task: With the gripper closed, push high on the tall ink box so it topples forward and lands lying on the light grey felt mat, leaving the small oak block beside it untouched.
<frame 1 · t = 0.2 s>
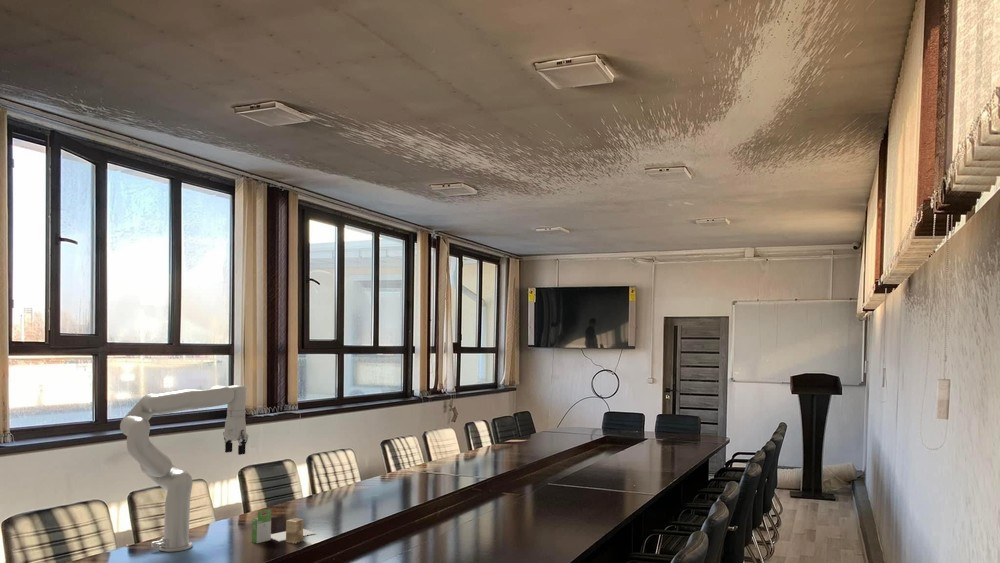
hand: (235, 453, 327), 36 cm above the table, tool pointing down, fingers open, 9 cm apart
ink box: (261, 541, 319), on the table
felt mat: (290, 535, 329), on the table
oak block: (294, 541, 319), on the table
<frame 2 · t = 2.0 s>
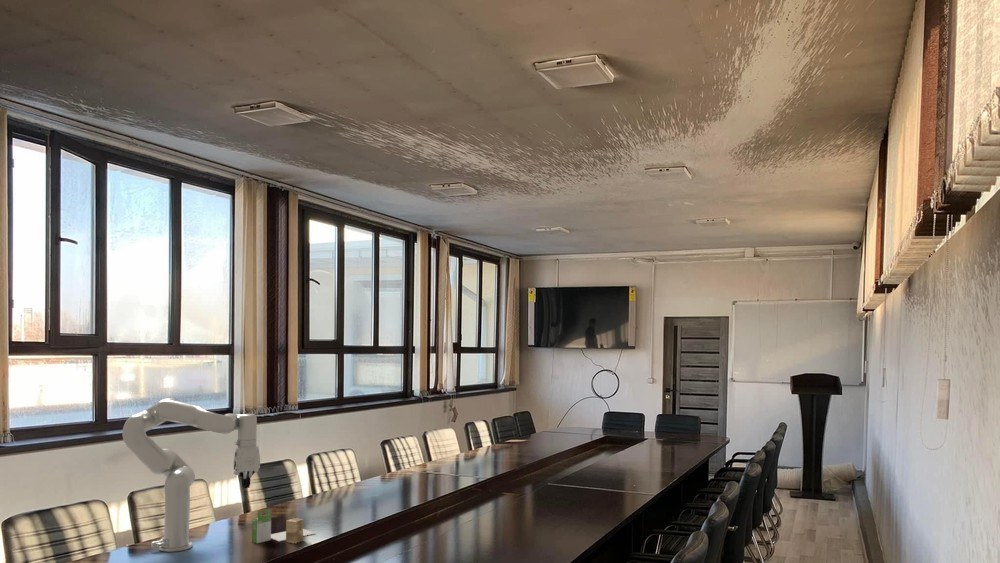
hand: (246, 487, 315), 24 cm above the table, tool pointing down, fingers closed
nothing on the table moved.
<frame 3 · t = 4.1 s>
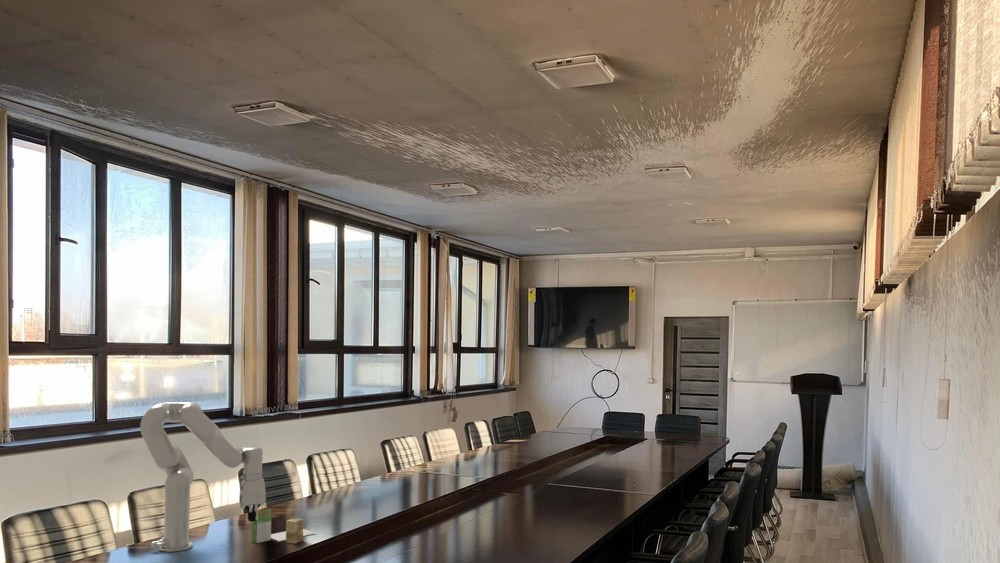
hand: (251, 520, 316), 9 cm above the table, tool pointing down, fingers closed
ink box: (261, 541, 319), on the table, touching gripper
everything else where it was.
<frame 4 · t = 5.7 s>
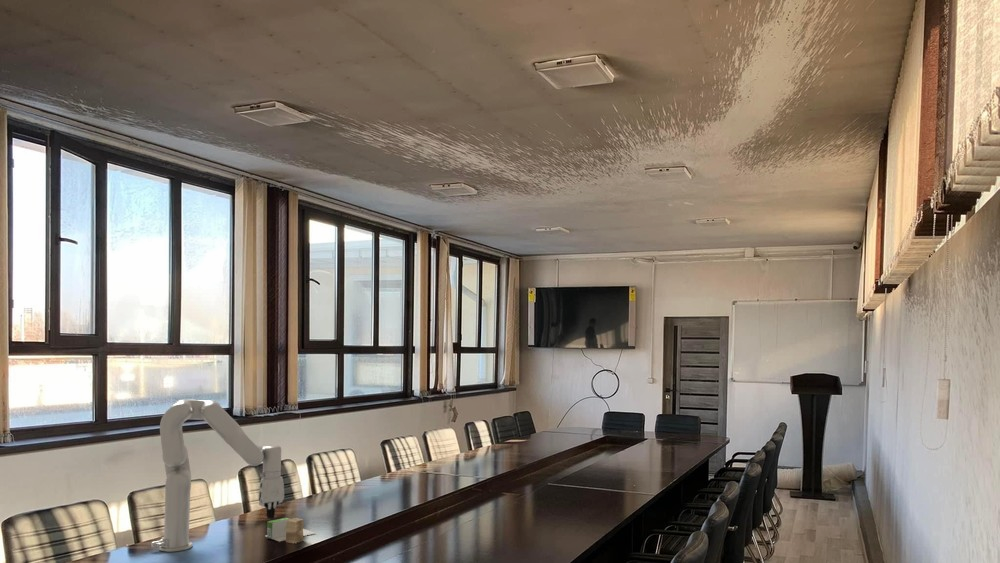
hand: (270, 517, 323), 9 cm above the table, tool pointing down, fingers closed
ink box: (268, 530, 322), point 4 cm above the table, touching felt mat
everything else where it was.
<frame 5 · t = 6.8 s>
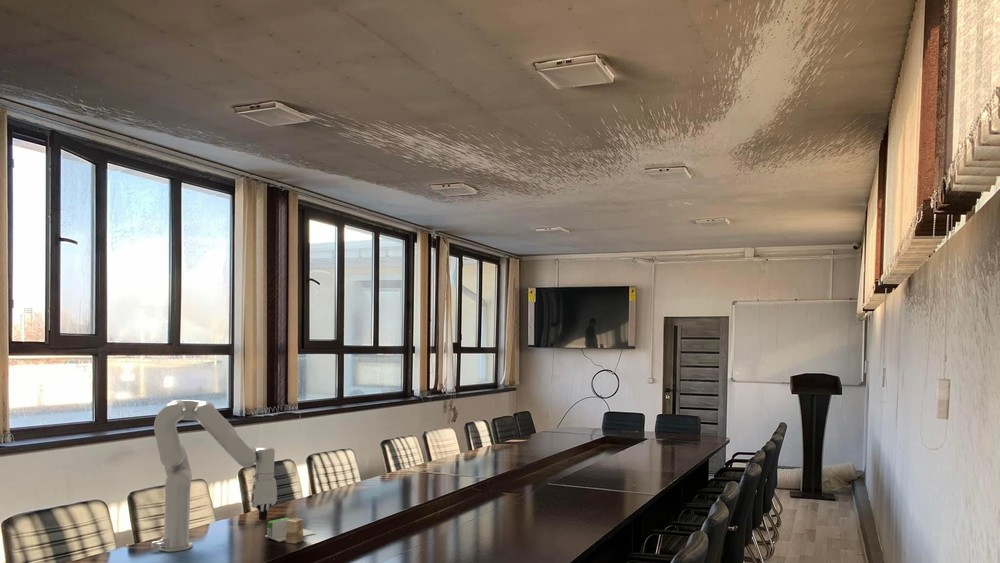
hand: (262, 520, 320), 9 cm above the table, tool pointing down, fingers closed
nothing on the table moved.
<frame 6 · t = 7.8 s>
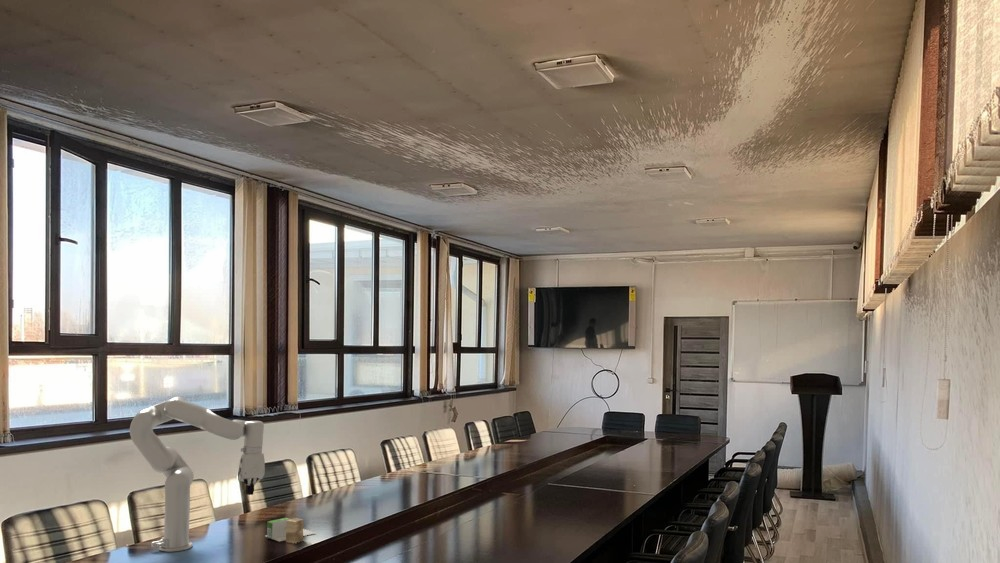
hand: (249, 494, 317), 20 cm above the table, tool pointing down, fingers closed
nothing on the table moved.
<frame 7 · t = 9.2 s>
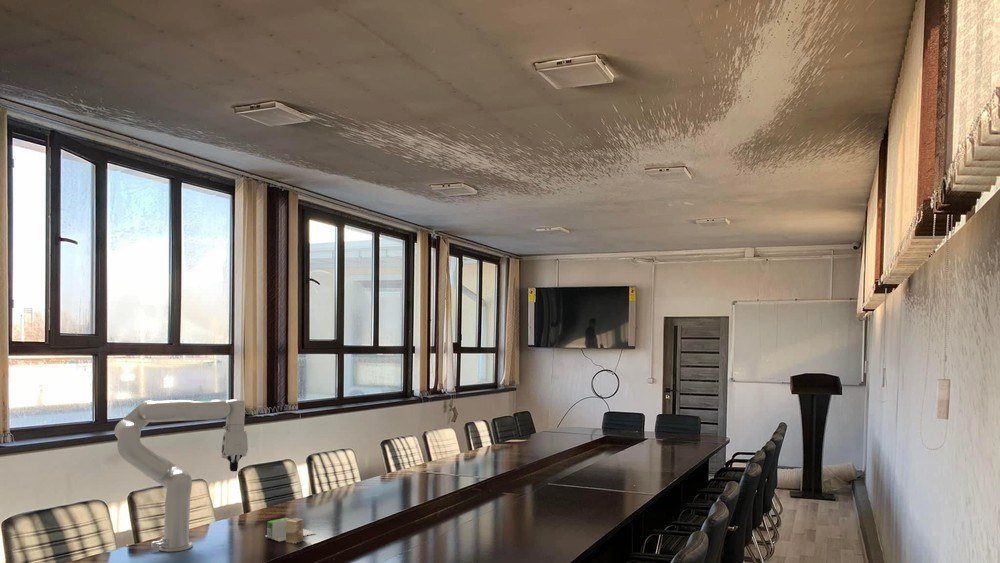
hand: (233, 470, 323), 29 cm above the table, tool pointing down, fingers closed
nothing on the table moved.
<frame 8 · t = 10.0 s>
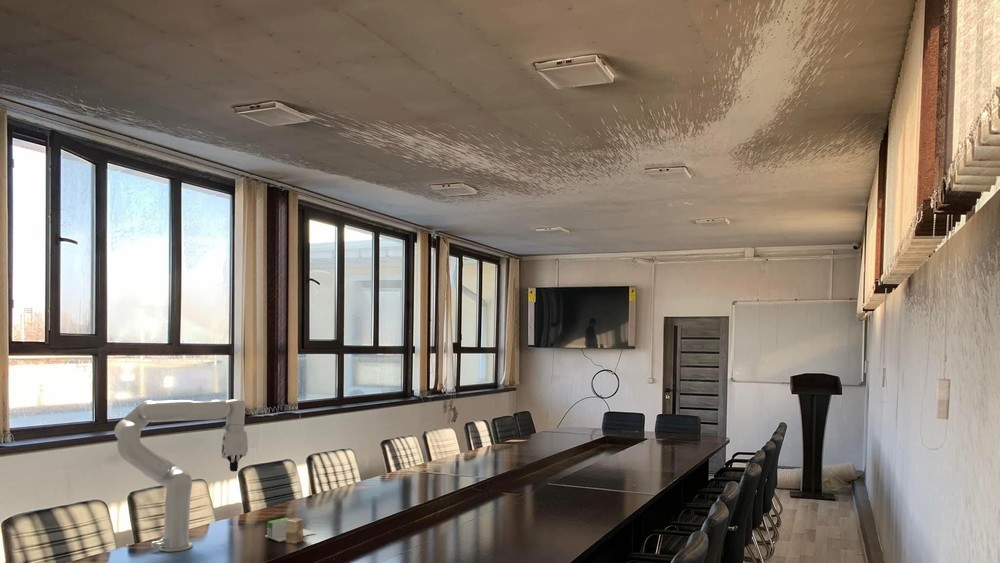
hand: (233, 470, 323), 29 cm above the table, tool pointing down, fingers closed
nothing on the table moved.
at the end: ink box tilted 90°; ink box inside the target area (4.6 cm from its centre), point 3.8 cm above the table; oak block moved 0.1 cm from its start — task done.
